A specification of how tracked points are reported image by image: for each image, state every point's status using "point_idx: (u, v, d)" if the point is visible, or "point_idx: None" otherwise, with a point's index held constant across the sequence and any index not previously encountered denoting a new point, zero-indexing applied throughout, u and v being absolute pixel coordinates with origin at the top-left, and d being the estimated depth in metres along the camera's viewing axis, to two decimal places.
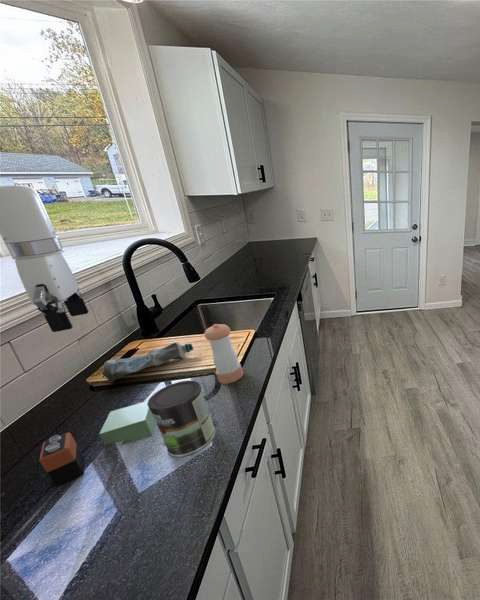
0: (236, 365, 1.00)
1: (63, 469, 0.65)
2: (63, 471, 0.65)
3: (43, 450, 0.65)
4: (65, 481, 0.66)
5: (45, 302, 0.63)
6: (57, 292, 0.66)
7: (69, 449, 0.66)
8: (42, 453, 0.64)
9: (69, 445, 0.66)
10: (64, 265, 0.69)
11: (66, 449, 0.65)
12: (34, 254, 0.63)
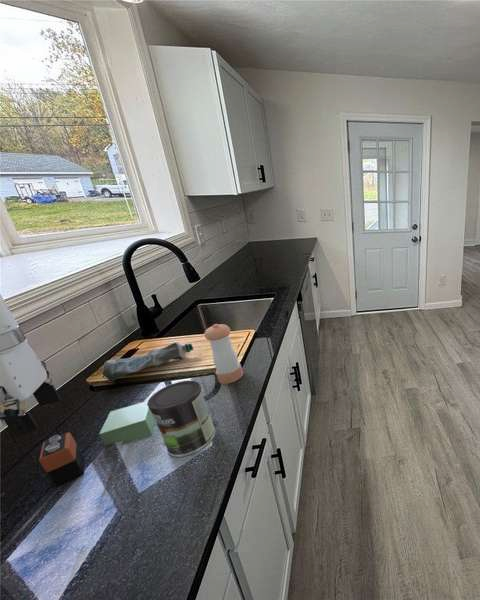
0: (236, 365, 1.00)
1: (63, 469, 0.65)
2: (63, 471, 0.65)
3: (43, 450, 0.65)
4: (65, 481, 0.66)
5: (3, 408, 0.55)
6: (18, 393, 0.57)
7: (69, 449, 0.66)
8: (42, 453, 0.64)
9: (69, 445, 0.66)
10: (28, 356, 0.61)
11: (66, 449, 0.65)
12: None
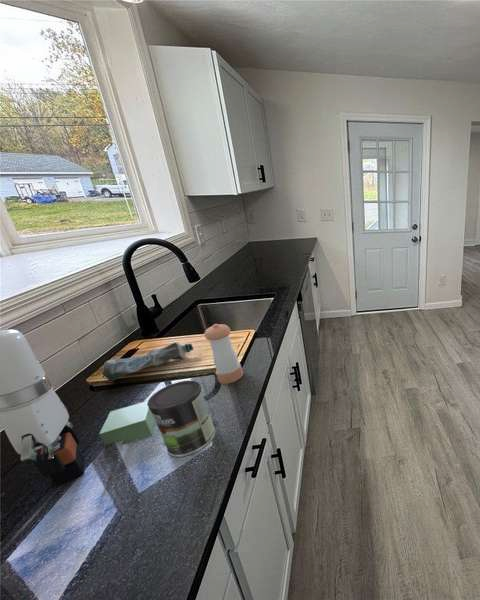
0: (236, 365, 1.00)
1: None
2: (63, 471, 0.65)
3: (43, 450, 0.65)
4: (65, 481, 0.66)
5: (35, 455, 0.59)
6: (45, 439, 0.61)
7: (69, 449, 0.66)
8: (42, 453, 0.64)
9: (69, 445, 0.66)
10: (53, 401, 0.65)
11: (66, 449, 0.65)
12: (20, 404, 0.59)
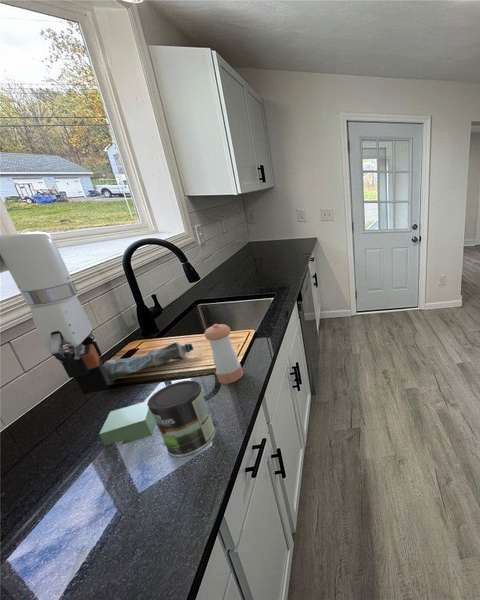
0: (236, 365, 1.00)
1: (87, 374, 0.69)
2: (87, 375, 0.69)
3: None
4: (89, 386, 0.70)
5: (63, 352, 0.63)
6: (72, 338, 0.65)
7: (93, 355, 0.69)
8: None
9: (93, 352, 0.70)
10: (78, 308, 0.68)
11: (90, 354, 0.68)
12: (49, 301, 0.62)
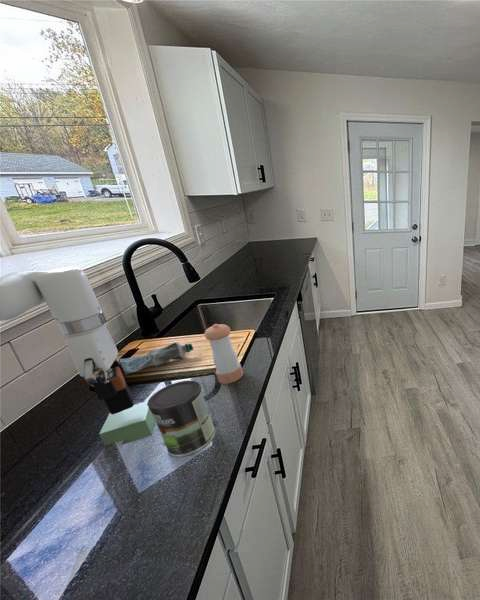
0: (236, 365, 1.00)
1: None
2: (115, 397, 0.74)
3: None
4: (117, 406, 0.75)
5: (95, 377, 0.68)
6: (103, 364, 0.70)
7: (120, 378, 0.75)
8: None
9: (120, 375, 0.75)
10: (107, 335, 0.74)
11: (118, 377, 0.74)
12: (83, 331, 0.68)
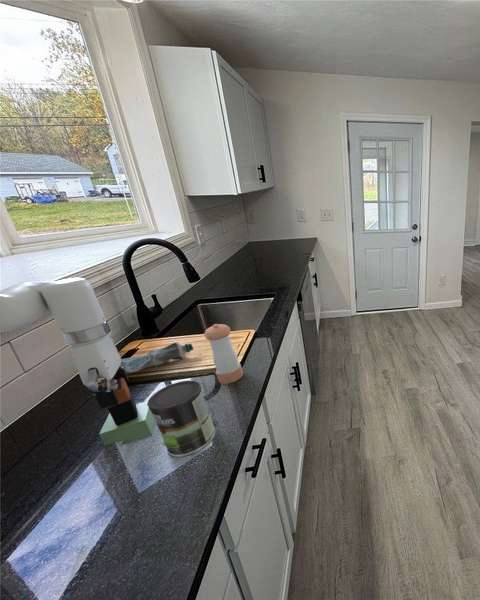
0: (236, 365, 1.00)
1: (120, 406, 0.76)
2: (120, 408, 0.76)
3: None
4: (122, 417, 0.76)
5: (97, 385, 0.69)
6: (106, 373, 0.71)
7: (125, 389, 0.76)
8: None
9: (125, 386, 0.77)
10: (111, 344, 0.75)
11: (123, 389, 0.75)
12: (87, 341, 0.68)
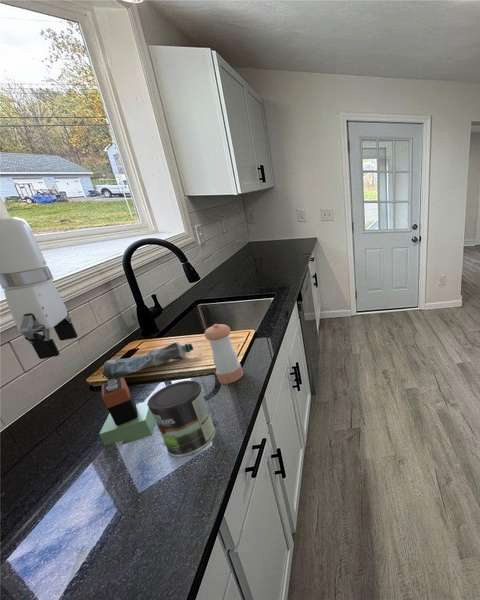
0: (236, 365, 1.00)
1: (120, 406, 0.76)
2: (120, 408, 0.76)
3: (104, 389, 0.75)
4: (122, 417, 0.76)
5: (32, 331, 0.65)
6: (45, 321, 0.67)
7: (125, 389, 0.76)
8: (103, 391, 0.74)
9: (125, 386, 0.77)
10: (53, 292, 0.71)
11: (123, 389, 0.75)
12: (23, 284, 0.65)
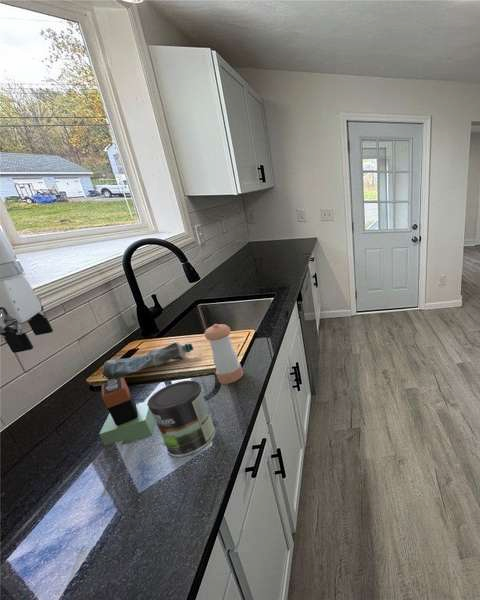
0: (236, 365, 1.00)
1: (120, 406, 0.76)
2: (120, 408, 0.76)
3: (104, 389, 0.75)
4: (122, 417, 0.76)
5: (3, 325, 0.65)
6: (17, 315, 0.68)
7: (125, 389, 0.76)
8: (103, 391, 0.74)
9: (125, 386, 0.77)
10: (26, 287, 0.71)
11: (123, 389, 0.75)
12: None
